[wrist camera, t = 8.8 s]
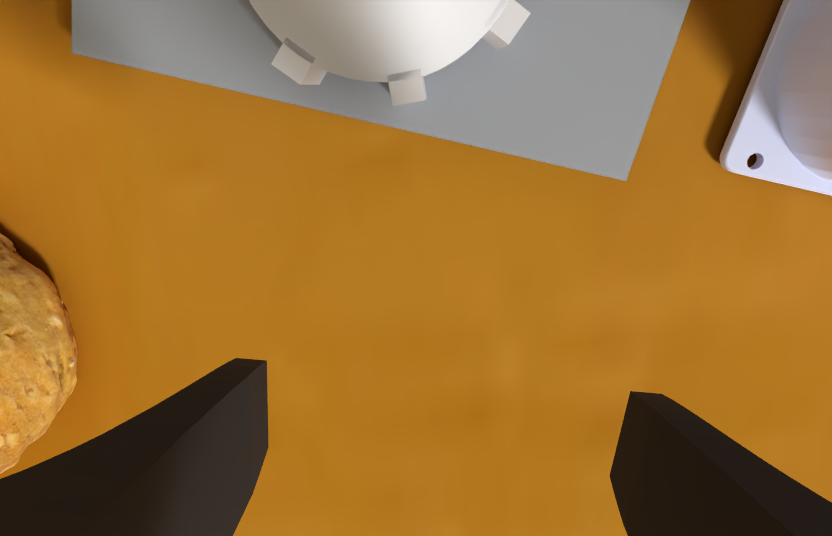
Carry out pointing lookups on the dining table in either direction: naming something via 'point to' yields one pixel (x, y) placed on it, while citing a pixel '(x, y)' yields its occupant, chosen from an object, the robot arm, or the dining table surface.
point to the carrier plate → (472, 104)
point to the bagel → (31, 354)
